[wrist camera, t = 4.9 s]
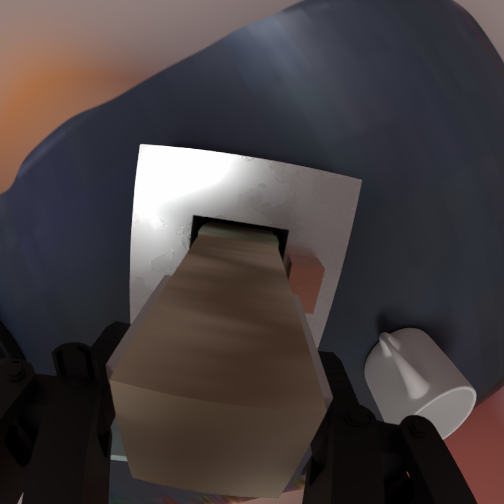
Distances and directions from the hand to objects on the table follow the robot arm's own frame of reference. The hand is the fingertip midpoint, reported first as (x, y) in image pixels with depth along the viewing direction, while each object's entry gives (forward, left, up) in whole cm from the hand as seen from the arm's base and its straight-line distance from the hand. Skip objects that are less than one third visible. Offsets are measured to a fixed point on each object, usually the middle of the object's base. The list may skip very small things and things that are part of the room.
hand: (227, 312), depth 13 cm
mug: (+18, -9, -12) cm, 24 cm away
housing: (0, 0, -12) cm, 12 cm away
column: (0, 0, -8) cm, 8 cm away
